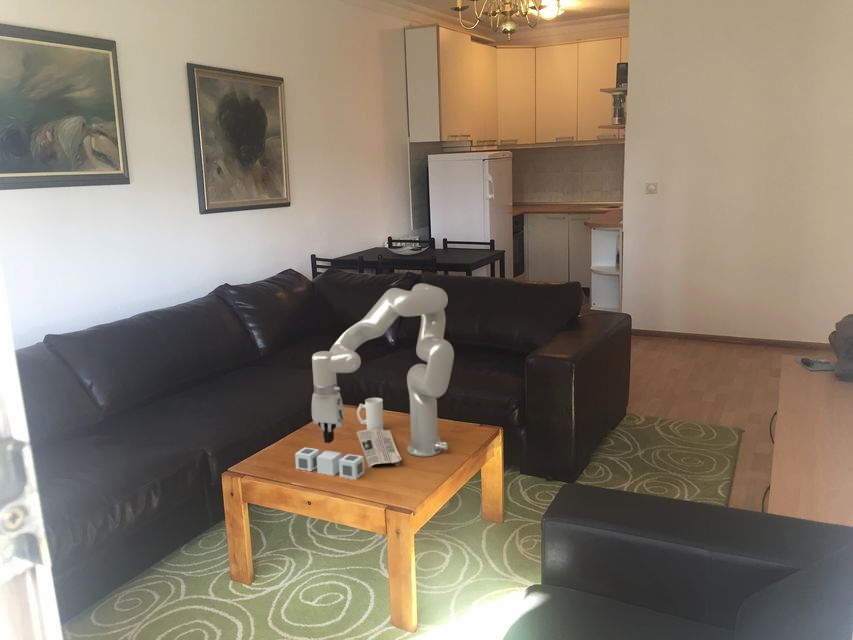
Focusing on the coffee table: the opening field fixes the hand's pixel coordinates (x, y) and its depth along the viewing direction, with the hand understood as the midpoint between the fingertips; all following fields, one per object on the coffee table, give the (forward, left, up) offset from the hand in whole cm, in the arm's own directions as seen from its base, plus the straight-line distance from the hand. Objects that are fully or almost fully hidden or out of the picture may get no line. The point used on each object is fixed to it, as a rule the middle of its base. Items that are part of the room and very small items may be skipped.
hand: (329, 441), depth 245 cm
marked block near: (-8, 0, -11) cm, 13 cm away
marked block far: (+9, 0, -11) cm, 14 cm away
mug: (+6, -40, -11) cm, 42 cm away
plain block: (0, 0, -11) cm, 11 cm away
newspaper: (-7, -23, -11) cm, 26 cm away
